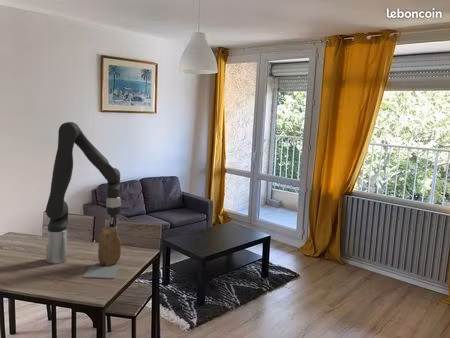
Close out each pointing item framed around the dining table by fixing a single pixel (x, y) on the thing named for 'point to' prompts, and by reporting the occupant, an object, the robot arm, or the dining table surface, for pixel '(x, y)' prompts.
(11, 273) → the dining table surface
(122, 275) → the dining table surface
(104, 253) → the brown rounded piece
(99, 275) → the mat
